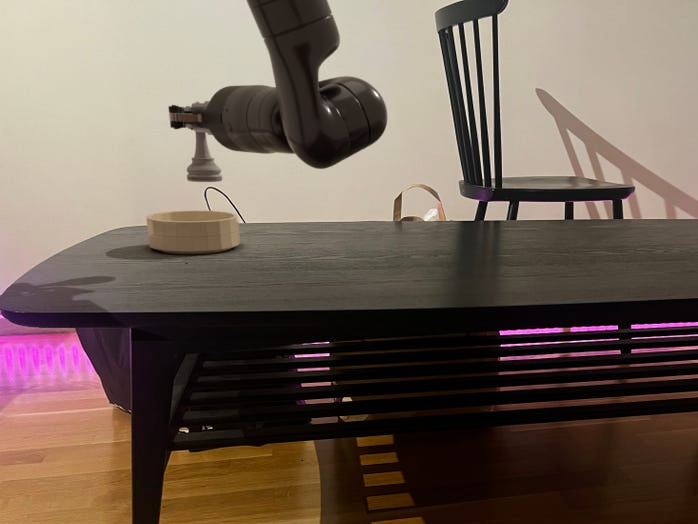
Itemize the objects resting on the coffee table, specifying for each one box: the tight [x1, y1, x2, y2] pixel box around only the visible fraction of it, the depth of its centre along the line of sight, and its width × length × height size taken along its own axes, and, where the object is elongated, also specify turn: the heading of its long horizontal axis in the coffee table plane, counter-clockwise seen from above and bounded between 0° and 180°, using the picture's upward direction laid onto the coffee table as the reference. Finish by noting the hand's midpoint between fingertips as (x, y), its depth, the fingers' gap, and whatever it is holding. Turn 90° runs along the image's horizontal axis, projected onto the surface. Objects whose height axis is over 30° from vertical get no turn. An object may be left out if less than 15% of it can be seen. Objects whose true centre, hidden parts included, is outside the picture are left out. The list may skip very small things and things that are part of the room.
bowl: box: [145, 209, 241, 255], centre depth 109 cm, size 13×13×5 cm
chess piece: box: [186, 100, 223, 183], centre depth 92 cm, size 4×4×10 cm
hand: (189, 117), depth 93 cm, fingers closed on chess piece, 2 cm apart
